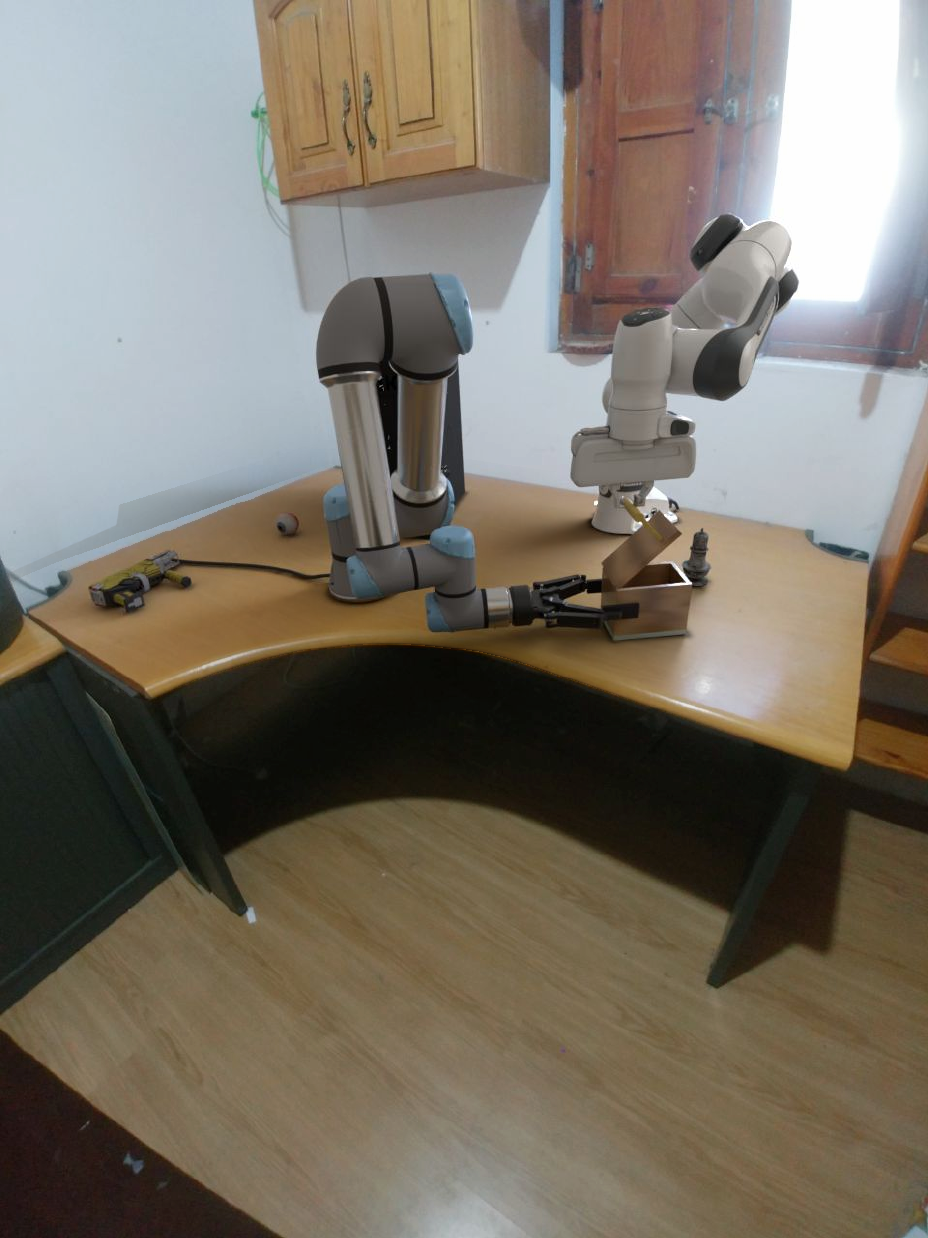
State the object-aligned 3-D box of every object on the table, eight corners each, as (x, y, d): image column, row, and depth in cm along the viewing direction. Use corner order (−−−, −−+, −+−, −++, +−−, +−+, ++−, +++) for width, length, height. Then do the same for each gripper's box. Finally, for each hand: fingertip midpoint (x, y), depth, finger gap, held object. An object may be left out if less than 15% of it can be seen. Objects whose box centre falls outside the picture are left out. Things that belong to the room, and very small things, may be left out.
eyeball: (273, 537, 164) (268, 516, 161) (287, 528, 169) (282, 508, 166) (291, 539, 161) (286, 518, 158) (305, 530, 166) (301, 510, 163)
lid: (662, 513, 109) (634, 484, 106) (682, 533, 101) (652, 503, 98) (604, 566, 114) (576, 539, 111) (618, 589, 105) (588, 562, 102)
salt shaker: (710, 587, 126) (720, 533, 120) (681, 586, 127) (688, 532, 121) (706, 574, 131) (715, 522, 125) (678, 573, 132) (685, 522, 126)
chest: (667, 608, 119) (673, 560, 114) (686, 633, 111) (692, 584, 106) (600, 614, 119) (602, 567, 114) (613, 640, 111) (616, 591, 105)
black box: (432, 538, 157) (416, 350, 135) (359, 535, 162) (333, 353, 139) (465, 491, 189) (456, 333, 166) (403, 490, 193) (387, 336, 171)
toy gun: (215, 558, 145) (165, 547, 149) (137, 600, 125) (81, 586, 129) (218, 575, 148) (168, 564, 152) (142, 619, 128) (87, 605, 131)
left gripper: (502, 596, 122) (610, 587, 123) (519, 657, 103) (647, 646, 104) (501, 562, 119) (612, 553, 120) (519, 619, 99) (652, 608, 100)
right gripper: (577, 433, 93) (573, 518, 100) (705, 422, 94) (693, 507, 101) (566, 424, 98) (564, 505, 105) (688, 414, 99) (678, 495, 106)
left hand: (628, 596), depth 112 cm, fingers closed on chest, 10 cm apart
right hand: (628, 506), depth 103 cm, fingers closed
